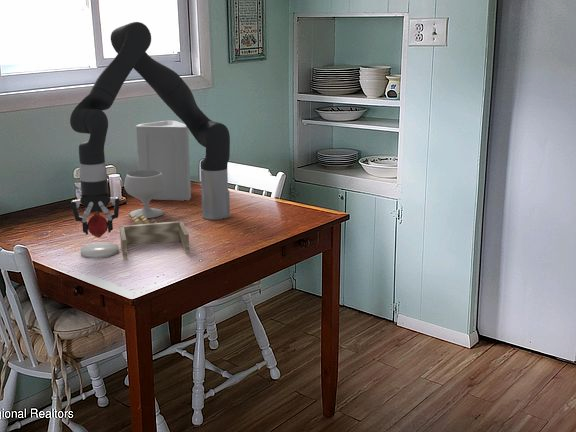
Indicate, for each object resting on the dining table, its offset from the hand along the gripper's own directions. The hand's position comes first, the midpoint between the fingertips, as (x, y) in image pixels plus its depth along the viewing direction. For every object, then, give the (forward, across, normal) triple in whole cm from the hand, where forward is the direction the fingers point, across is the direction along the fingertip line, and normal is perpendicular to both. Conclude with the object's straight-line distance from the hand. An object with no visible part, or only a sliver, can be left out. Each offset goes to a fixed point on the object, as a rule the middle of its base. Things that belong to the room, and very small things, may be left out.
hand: (98, 232), depth 205 cm
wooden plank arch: (+6, -16, +2) cm, 17 cm away
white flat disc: (+6, 0, 0) cm, 6 cm away
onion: (+2, 0, 0) cm, 2 cm away
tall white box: (+6, -28, -61) cm, 67 cm away
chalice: (+6, -17, -36) cm, 40 cm away
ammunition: (+6, -15, -19) cm, 25 cm away
